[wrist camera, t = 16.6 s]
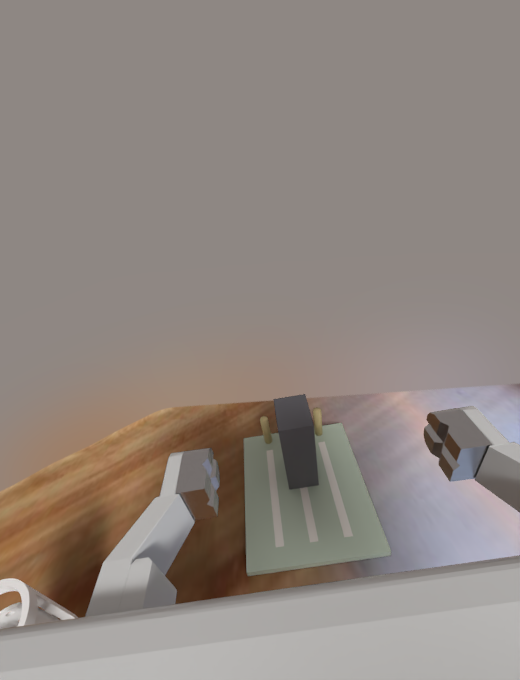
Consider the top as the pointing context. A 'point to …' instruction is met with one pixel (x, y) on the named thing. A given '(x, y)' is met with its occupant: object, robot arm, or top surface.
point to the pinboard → (307, 506)
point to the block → (297, 441)
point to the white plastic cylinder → (30, 607)
